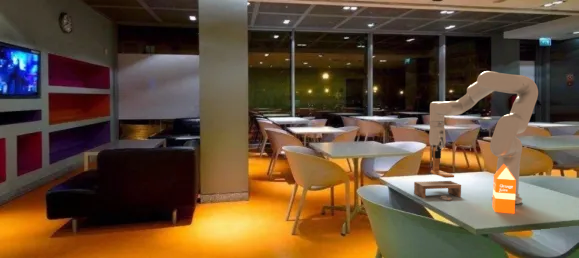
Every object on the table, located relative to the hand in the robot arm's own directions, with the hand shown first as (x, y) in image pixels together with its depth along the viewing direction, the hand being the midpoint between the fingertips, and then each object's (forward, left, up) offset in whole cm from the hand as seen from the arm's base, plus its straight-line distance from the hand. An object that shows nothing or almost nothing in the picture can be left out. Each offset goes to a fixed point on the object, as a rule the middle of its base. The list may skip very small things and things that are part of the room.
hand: (436, 157), depth 222 cm
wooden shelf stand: (-16, +8, -17) cm, 24 cm away
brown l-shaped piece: (-6, 0, -8) cm, 10 cm away
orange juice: (-46, -7, -17) cm, 50 cm away
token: (-25, +8, -17) cm, 31 cm away
